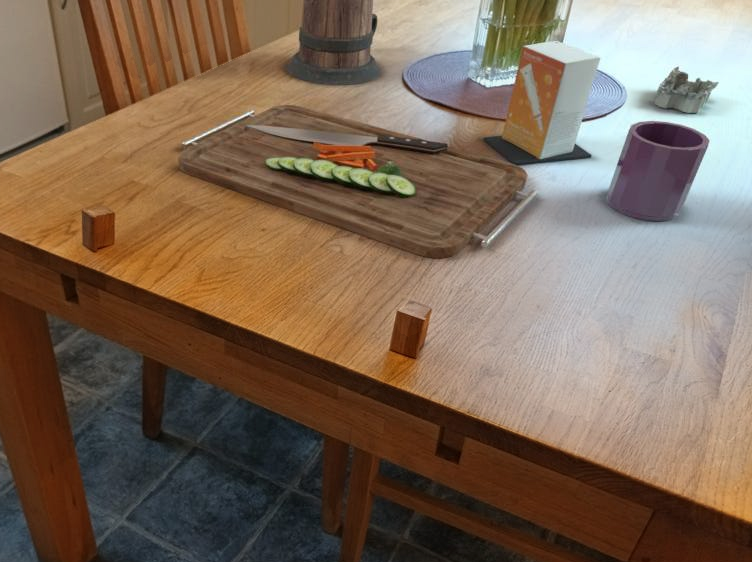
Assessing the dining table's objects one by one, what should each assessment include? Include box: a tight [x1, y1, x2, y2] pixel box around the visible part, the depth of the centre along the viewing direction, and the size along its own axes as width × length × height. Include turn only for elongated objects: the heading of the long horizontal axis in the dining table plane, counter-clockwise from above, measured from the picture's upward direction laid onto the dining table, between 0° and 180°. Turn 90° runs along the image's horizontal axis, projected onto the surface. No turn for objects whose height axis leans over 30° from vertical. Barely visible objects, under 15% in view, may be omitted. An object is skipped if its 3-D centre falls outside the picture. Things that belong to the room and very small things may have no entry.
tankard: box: [286, 0, 381, 86], centre depth 125 cm, size 24×17×20 cm
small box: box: [501, 40, 601, 159], centre depth 98 cm, size 8×6×13 cm
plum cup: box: [605, 120, 710, 222], centre depth 87 cm, size 9×9×9 cm
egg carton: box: [653, 66, 719, 114], centre depth 117 cm, size 11×8×4 cm
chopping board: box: [178, 104, 538, 259], centre depth 94 cm, size 45×27×3 cm, turn 54°
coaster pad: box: [483, 135, 593, 166], centre depth 103 cm, size 12×9×1 cm
